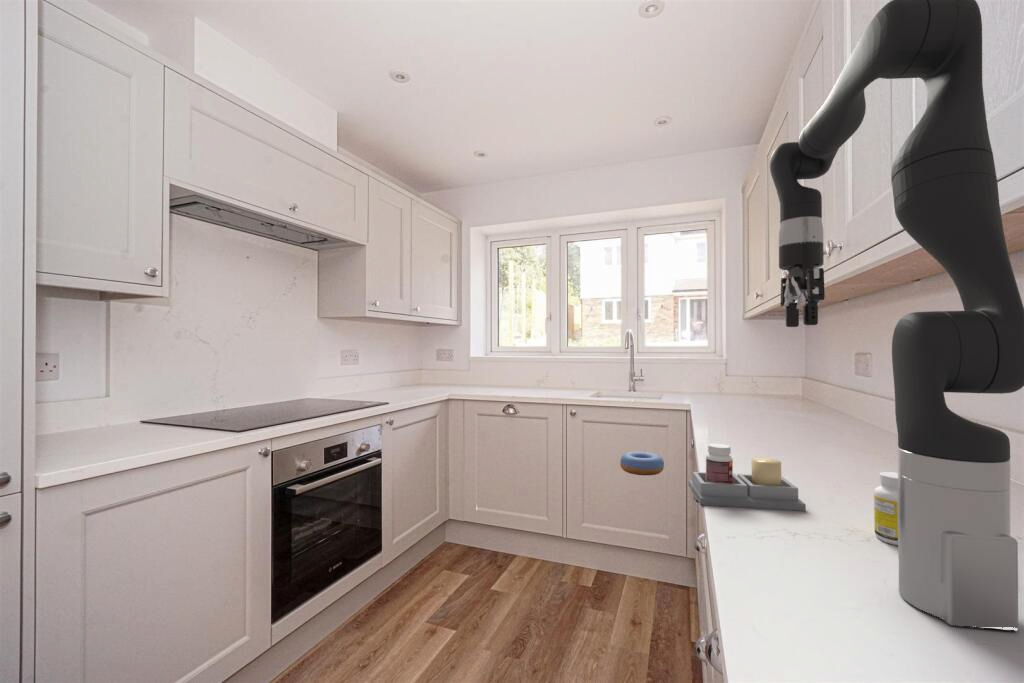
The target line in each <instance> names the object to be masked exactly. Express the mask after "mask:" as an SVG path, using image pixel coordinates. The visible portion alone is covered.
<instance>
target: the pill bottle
mask: <svg viewBox="0 0 1024 683" xmlns="http://www.w3.org/2000/svg"><path fill="white" fill-rule="evenodd" d="M731 450H732V449H731V446H730V445H729V444H723V443H709V444H707V452H708V453H707V454H706V455H705V472H706V482H708V483H728V484H732V481H733V474H734V472H733V471H734V470H733V469H734V468H733V466H734V465H733V464H734V462H733V460H734V458H733V457H732V456H731V453H732V451H731Z"/></svg>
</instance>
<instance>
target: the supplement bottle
mask: <svg viewBox="0 0 1024 683" xmlns="http://www.w3.org/2000/svg"><path fill="white" fill-rule="evenodd" d="M879 483H880V484H881V485H878V486H877V487H875V488H874V491H873V506H874V508H873V510H874V511H873V512H874V513H873V516H874V518H873V519H874V522H873V523H874V535H875V537H876V538H877V539H879V540H880V541H882V542H885V543H888V544H891V545H895V546H898V472H894V471H893V472H891V471H882V472H879Z"/></svg>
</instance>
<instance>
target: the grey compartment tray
mask: <svg viewBox="0 0 1024 683" xmlns="http://www.w3.org/2000/svg"><path fill="white" fill-rule="evenodd" d="M688 487H689V489H690V491H691V492H692V493H693V495H694V496H695V498H696V500H697V501H698V503H699V505H702V506H714V507H730V508H733V507H735V508H747V509H763V510H767V509H768V510H779V511H781V510H783V511H796V512H797V511H800V512H801V511H802V512H806V508H807V506H806V505H807V504H806V503H804V502H803V500H801V499H800V498H799V487H797V486H796V485H795V484H794V483H792V482H790V481H789V480H788V479H787V478H785V477H783V476H782V461H780V460H777V459H773V458H769V457H753V458H751V473H750V474H749V473H747V474H746V473H737V474H736V473H733V481H732V484H728V483H708V482H706V471H704V472H703V471H702V472H701V471H692V479H688Z"/></svg>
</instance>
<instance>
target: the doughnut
mask: <svg viewBox="0 0 1024 683" xmlns="http://www.w3.org/2000/svg"><path fill="white" fill-rule="evenodd" d="M619 465H620V468H621V469H622V470H623V471H624V472H625V473H628V474H631V475H637V476H655V475H658V474H660V473H662V472H663V470H664V468H665V461H664V458H663V457H662V456H660V455H658V454H657V453H654V452H647V451H629V452H625V453H624V454H622V455H621V457H620V462H619Z"/></svg>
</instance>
